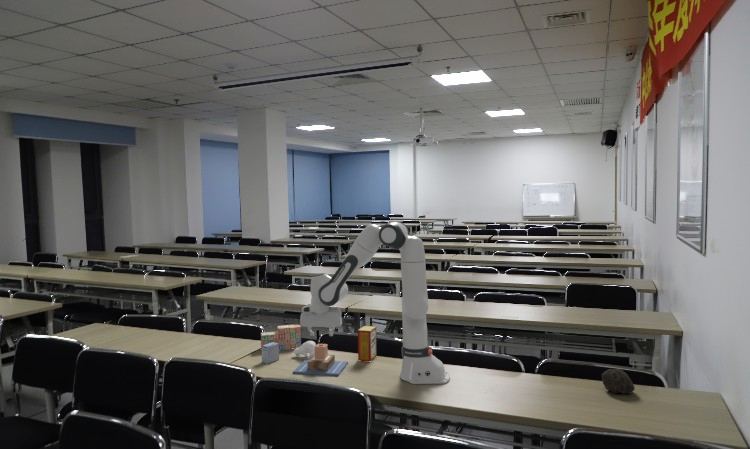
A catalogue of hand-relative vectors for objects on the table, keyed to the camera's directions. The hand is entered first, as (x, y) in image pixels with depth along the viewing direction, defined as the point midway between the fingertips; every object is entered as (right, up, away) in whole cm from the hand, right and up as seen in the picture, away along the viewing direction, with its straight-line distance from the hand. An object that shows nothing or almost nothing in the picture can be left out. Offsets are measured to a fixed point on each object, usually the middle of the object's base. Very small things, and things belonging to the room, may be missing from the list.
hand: (321, 335), depth 232 cm
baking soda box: (+22, -15, +15) cm, 30 cm away
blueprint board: (0, -16, +1) cm, 16 cm away
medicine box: (-27, -16, +13) cm, 34 cm away
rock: (+126, -16, -34) cm, 131 cm away
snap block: (0, -11, 0) cm, 11 cm away
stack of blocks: (-26, -16, +35) cm, 46 cm away
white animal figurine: (-11, -16, +19) cm, 27 cm away
